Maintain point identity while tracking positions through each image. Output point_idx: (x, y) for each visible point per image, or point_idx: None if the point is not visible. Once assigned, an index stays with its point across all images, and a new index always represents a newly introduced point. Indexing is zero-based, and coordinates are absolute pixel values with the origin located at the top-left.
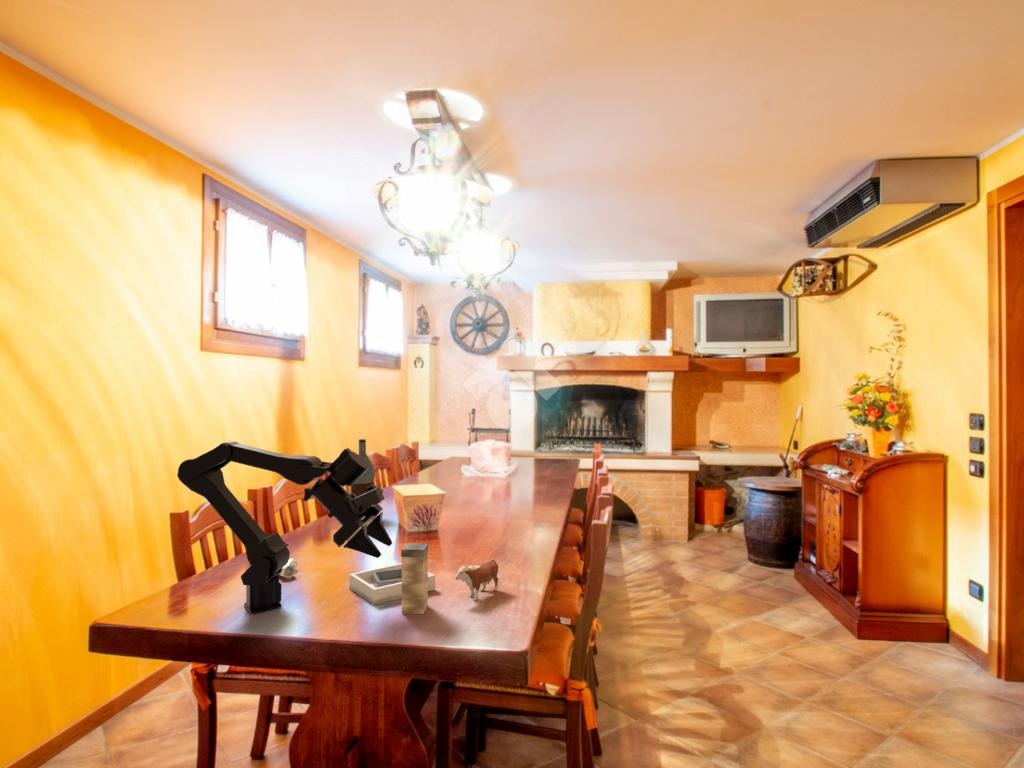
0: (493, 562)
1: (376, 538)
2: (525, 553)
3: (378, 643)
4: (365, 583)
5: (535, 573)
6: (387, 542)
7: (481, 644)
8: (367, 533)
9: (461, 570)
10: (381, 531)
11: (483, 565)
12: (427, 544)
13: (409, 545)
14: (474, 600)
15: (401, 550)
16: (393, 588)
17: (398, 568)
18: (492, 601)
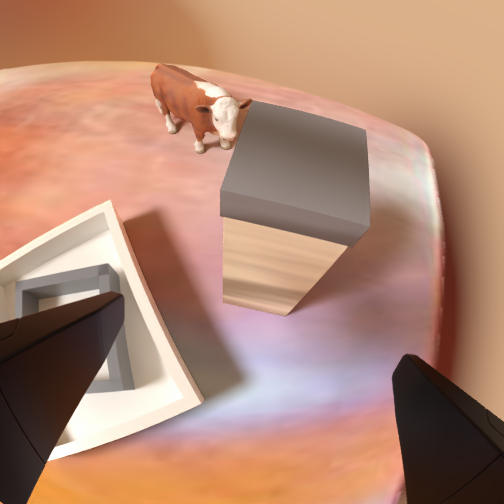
0: (171, 65)
1: (68, 410)
2: (31, 85)
3: (437, 351)
4: (127, 431)
5: (121, 68)
6: (110, 327)
7: (422, 177)
8: (31, 479)
9: (236, 111)
10: (42, 365)
11: (191, 77)
12: (269, 104)
13: (278, 176)
14: (230, 147)
15: (366, 228)
16: (166, 335)
17: (15, 305)
18: (239, 123)
